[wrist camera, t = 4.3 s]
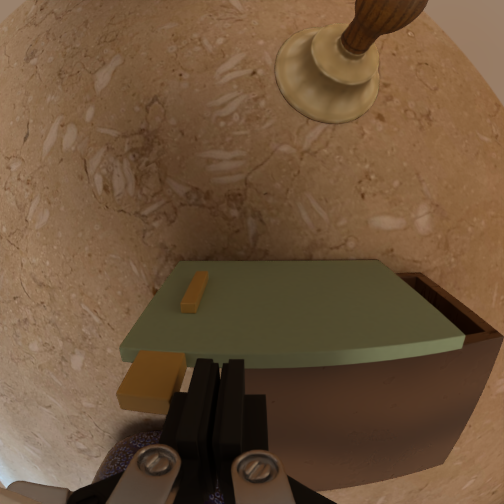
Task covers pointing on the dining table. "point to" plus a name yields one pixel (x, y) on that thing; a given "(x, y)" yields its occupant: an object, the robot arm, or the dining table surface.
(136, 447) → the planter
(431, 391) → the cupboard
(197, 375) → the robot arm
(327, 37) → the hand bell
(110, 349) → the dining table surface
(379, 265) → the sliding door
